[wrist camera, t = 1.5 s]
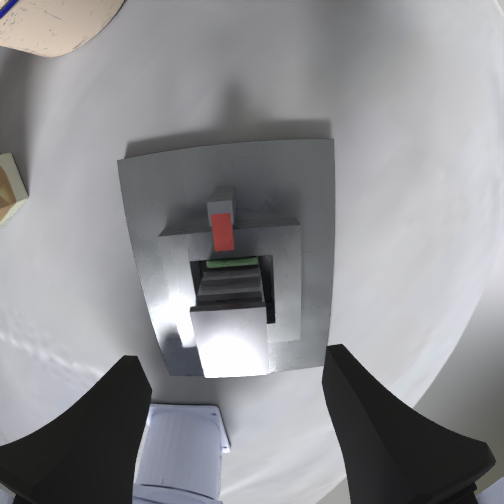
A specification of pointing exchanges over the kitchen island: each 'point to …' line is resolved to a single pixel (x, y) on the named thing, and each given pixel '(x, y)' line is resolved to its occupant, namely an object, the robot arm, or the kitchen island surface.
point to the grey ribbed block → (231, 319)
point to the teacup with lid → (53, 24)
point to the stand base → (236, 238)
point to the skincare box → (10, 188)
